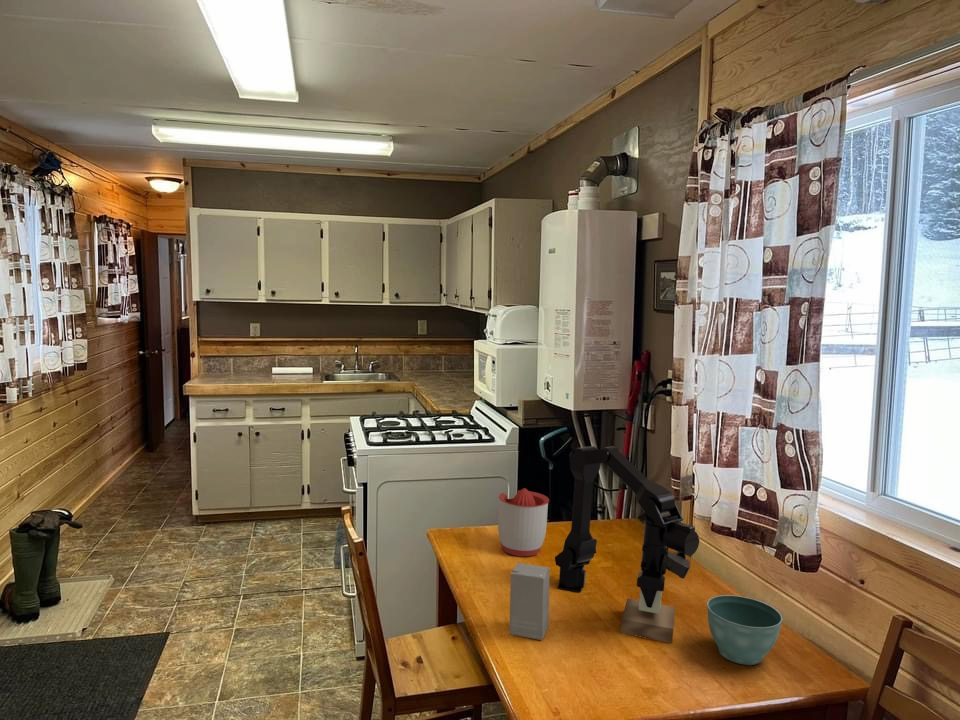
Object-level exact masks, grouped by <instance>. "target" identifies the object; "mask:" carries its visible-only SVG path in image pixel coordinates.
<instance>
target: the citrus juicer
mask: <svg viewBox="0 0 960 720" xmlns="http://www.w3.org/2000/svg"><path fill="white" fill-rule="evenodd" d="M498 499H499V504H498V505H499V506H498V518H497V519H498V520H497V521H498V522H497V529H498V537H499V543H500V546H501V550H503V552H505V553H506V554H508V555H512V556H515V557H518V558H519V557H532V556H535V555H538V554H539V553H540V551H541V550H542V547H543V543H544V541H545V537H546V534H547V533H546V531H547V525H548V523H547V522H548V509H549V508H548V507H549V502H550V499H549V497H548V496H546V495H544V494H542V493H539V492H534V491H530V490H529V489H527V488H525V487H524V488H522V489H520V490H517V493H516V494H515V495H514V497H513V498H508V495H507V493H504V492H502V493H500V494H499V496H498Z"/></svg>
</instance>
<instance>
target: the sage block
mask: <svg viewBox="0 0 960 720" xmlns="http://www.w3.org/2000/svg"><path fill="white" fill-rule="evenodd" d="M662 593H663V591H657V593H656V596H655V599H654V602H653V605H652V608H649V607H647V606H646V603H645V600H644V597H643V594H642V591H641V589H639V599H638V600H639V610H641V611H647V612H652V613H657V614H660V607H661V605H662V595H663V594H662Z"/></svg>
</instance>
